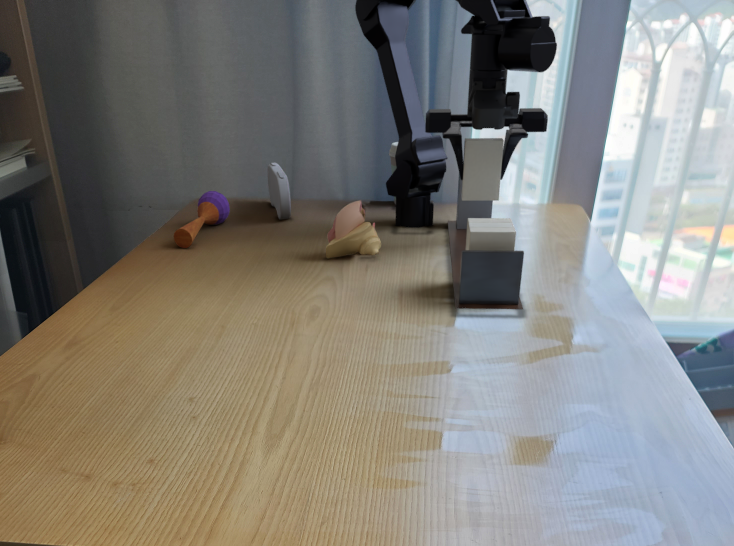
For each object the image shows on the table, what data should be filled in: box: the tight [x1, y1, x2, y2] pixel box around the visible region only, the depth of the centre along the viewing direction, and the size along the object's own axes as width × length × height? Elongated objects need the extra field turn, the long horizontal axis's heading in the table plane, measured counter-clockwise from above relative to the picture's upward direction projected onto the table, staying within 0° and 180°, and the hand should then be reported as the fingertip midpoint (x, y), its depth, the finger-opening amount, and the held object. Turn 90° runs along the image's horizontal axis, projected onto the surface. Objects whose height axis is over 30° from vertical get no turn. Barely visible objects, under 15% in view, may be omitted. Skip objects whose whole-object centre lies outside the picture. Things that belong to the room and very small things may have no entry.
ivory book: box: [461, 137, 505, 202], centre depth 121 cm, size 6×2×9 cm, turn 86°
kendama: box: [173, 190, 231, 249], centre depth 137 cm, size 6×6×20 cm
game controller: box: [267, 162, 292, 220], centre depth 149 cm, size 20×2×8 cm, turn 13°
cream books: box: [466, 217, 517, 251], centre depth 103 cm, size 6×7×9 cm
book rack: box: [447, 220, 525, 310], centre depth 118 cm, size 9×48×8 cm, turn 176°
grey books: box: [455, 173, 494, 229], centre depth 134 cm, size 6×5×9 cm
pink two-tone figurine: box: [325, 199, 382, 259], centre depth 122 cm, size 9×10×10 cm
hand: (481, 179), depth 122 cm, fingers closed on ivory book, 6 cm apart
